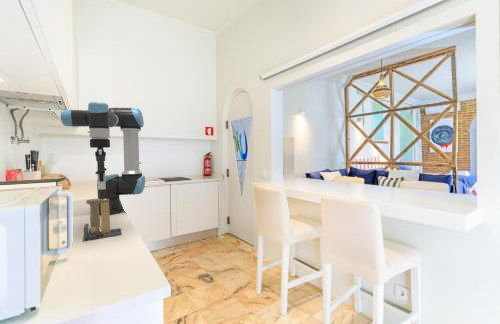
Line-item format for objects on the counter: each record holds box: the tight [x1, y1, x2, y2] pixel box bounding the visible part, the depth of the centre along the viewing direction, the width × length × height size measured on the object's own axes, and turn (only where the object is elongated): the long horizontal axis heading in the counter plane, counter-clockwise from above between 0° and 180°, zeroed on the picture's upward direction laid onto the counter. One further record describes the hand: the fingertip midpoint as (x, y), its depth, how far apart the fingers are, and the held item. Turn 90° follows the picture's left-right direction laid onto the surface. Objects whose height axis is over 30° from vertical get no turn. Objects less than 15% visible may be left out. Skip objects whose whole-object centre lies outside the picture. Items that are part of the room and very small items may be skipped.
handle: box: [85, 198, 101, 229], centre depth 118 cm, size 5×6×15 cm
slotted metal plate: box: [81, 223, 123, 242], centre depth 109 cm, size 11×14×6 cm
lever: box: [100, 198, 111, 235], centre depth 109 cm, size 4×4×15 cm
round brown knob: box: [88, 227, 100, 235], centre depth 107 cm, size 4×4×4 cm
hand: (102, 187), depth 108 cm, fingers open, 13 cm apart
